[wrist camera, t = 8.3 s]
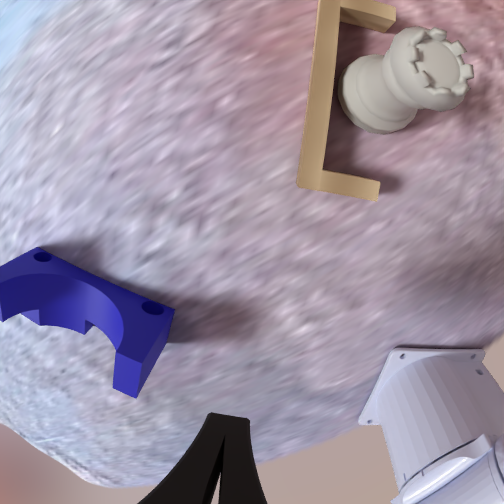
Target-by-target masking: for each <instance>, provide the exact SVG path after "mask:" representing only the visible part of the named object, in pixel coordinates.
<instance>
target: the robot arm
mask: <svg viewBox="0 0 504 504" xmlns="http://www.w3.org/2000/svg"><path fill="white" fill-rule="evenodd" d="M404 353H405V354H404ZM402 354H404V355H403V356H401V355H402ZM484 357H485V351H484V350H483V349H417V348H395V349H393V350H392V351H391V352H390V354H389V356H388V358H387V361H386V363H385V365H384V367H383V370H382V372H381V374H380V376H379V378H378V381H377V383H376V385H375V387H374V389H373V391H372V393H371V395H370V397H369V399H368V401H367V403H366V405H365V407H364V409H363V411H362V413H361V415H360V417H359V419H358V422H359V424H360V425H381V426H382V429H383V433H384V436H385V440H386V443H387V447H388V451H389V455H390V458H391V462H392V466H393V470H394V474H395V478H396V482H397V486H398V491H399V495H398V496H397V497H395V498H394V499H392V500H391V504H504V393H503V391H502V389H501V388H500V387H499V385H498V384H497V382H496V381H495V380H494V378H493V377H492V375H491V374H490V373H489V371H488V370H487V369H486V367H485V366H484V365H483V363H482V360H483V359H484ZM220 472H221V476H220ZM219 476H220V490H219V503H218V504H267V501H266V499H265V496H264V493H263V490H262V487H261V484H260V481H259V477H258V473H257V469H256V465H255V461H254V457H253V452H252V445H251V438H250V420H249V419H247V418H242V417H235V416H229V415H223V414H217V413H212V412H211V413H209V414H208V415H207V418H206V420H205V422H204V424H203V426H202V428H201V429H200V431H199V433H198V435H197V436H196V438H195V439H194V441H193V442H192V444H191V445H190V447H189V448H188V450H187V451H186V452H185V454H184V455H183V456H182V458H181V459H180V460H179V462H178V463H177V464H176V465H175V466H174V468H173V469H172V470H171V471H170V472H169V474H168V475H167V476H166V477H165V478H164V479H163V480H162V481H161V482H160V483H159V484H158V485H157V486H156V487H155V488H154V489H153V490H152V491H151V492H150V493H149V494H148V495H147V496H146V497H145V498H144V499H142V500H141V501H140V502H139V503H138V504H211V502H212V498H213V495H214V492H215V489H216V485H217V482H218V479H219Z"/></svg>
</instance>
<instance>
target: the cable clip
mask: <svg viewBox="0 0 504 504" xmlns="http://www.w3.org/2000/svg"><path fill="white" fill-rule="evenodd" d="M174 311H175V309H172V308H170V307H167V306H165V305H162V304H160V303H157V302H155V301H153V300H150V299H148V298H145V297H143V296H141V295H138V294H136V293H134V292H131V291H129V290H127V289H124V288H122V287H120V286H118V285H115V284H113V283H111V282H109V281H106V280H104V279H102V278H100V277H98V276H95V275H93V274H91V273H89V272H87V271H85V270H83V269H81V268H78V267H76V266H74V265H72V264H70V263H68V262H66V261H64V260H62V259H60V258H58V257H56V256H54V255H52V254H50V253H48V252H46V251H44V250H42V249H40V248H38V247H36V248H34V249H32V250H30V251H28V252H26V253H24V254H22V255H21V256H19V257H17V258H15V259H13V260H11V261H9V262H8V263H6V264H4V265H2V266H0V321H2V322H4V321H5V320H7V319H8V318H10V317H12V316H14V315H17V314H19V313H21V314H22V315H24V316H25V317H27V318H28V319H30V320H31V321H33V322H35V323H36V324H38V325H39V326H44V325H48V326H59V327H64V328H68V329H71V330H74V331H77V332H79V333H82V334H84V335H85V334H86V333H87V332H88V331H89V330H90V329H91V327H92V326H93V324H94V325H95V326H97V327H98V328H99V329H100V330H102V331H103V332H104V333H105V334H106V335H107V337H108V338H109V339H110V340H111V342H112V344H113V345H114V347H115V349H116V355H115V366H114V377H113V388H114V389H116V390H118V391H120V392H122V393H125V394H127V395H129V396H131V397H134V398H137V396H138V394H139V393H140V391H141V389H142V387H143V385H144V383H145V381H146V380H147V378H148V376H149V374H150V372H151V370H152V368H153V367H154V365H155V363H156V361H157V359H158V357H159V356H160V354H161V352H162V350H163V348H164V346H165V345H166V342H167V338H168V334H169V330H170V327H171V323H172V319H173V315H174Z"/></svg>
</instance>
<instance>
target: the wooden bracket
mask: <svg viewBox="0 0 504 504" xmlns="http://www.w3.org/2000/svg"><path fill="white" fill-rule="evenodd" d="M395 21H396V7H393V6H390V5H387V4H384V3H380V2H377V1H373V0H319V2H318V8H317V18H316V28H315V38H314V48H313V57H312V66H311V74H310V83H309V91H308V99H307V107H306V115H305V123H304V130H303V138H302V145H301V152H300V159H299V166H298V173H297V180H296V184H297V186H298V187H299V188H305V189H311V190H317V191H323V192H329V193H334V194H340V195H345V196H351V197H356V198H361V199H366V200H371V201H376V202H377V199H378V193H379V188H380V182H379V181H376V180H373V179H370V178H366V177H361V176H356V175H351V174H346V173H341V172H335V171H330V170H324V169H322V168H323V161H324V155H325V148H326V141H327V133H328V126H329V118H330V110H331V102H332V93H333V84H334V75H335V65H336V55H337V44H338V32H339V22H343V23H348V24H352V25H356V26H360V27H364V28H368V29H372V30H375V31H379V32H382V33H385V32H386V31H387V30H388V29H389V28H390V27H391V26H392V25H393V24H394V23H395Z"/></svg>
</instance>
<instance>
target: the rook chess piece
mask: <svg viewBox="0 0 504 504" xmlns="http://www.w3.org/2000/svg"><path fill="white" fill-rule="evenodd" d="M446 33H447V31H444V30H441V29H439V28H436V27H434V28H432V29H431V30H430V29H427V28H424V27H420V26H418V27H409V28H405V29H403V30H402V31H401V32H399V33H398V34H396V35H395V37H394V39H393V42H392V44H391V46H390V49H389V50H388V51H387V52H386V54H385V56H384V55H378V54H372V55H367V56H363V57H359V58H358V59H356V60H355V61H353V62H352V63H351V64H350V65H348V66H347V67H346V68H345V69H344V70H343V72H342V74H341V76H340V78H339V80H338V99H339V101H340V104H341V106H342V109H343V111H344V113H345V114H346V115H347V116H348V117H349V119H350V120H351V121H352V122H353V123H354V124H355V125H356V126H358V127H360V128H362V129H364V130H365V131H367V132H369V133H377V134H388V133H391V132H395V131H398V130H400V129H403V128H404V127H405V126H406V125H408V124H409V123H410V122H411V121H412V120H413V119H414V118H415V115H416V113H417V110H418V109H421V110H422V109H426V108H427V109H432V110H436V111H440V112H442V111H446V110H451V109H454V108H455V107H456V106H457V105H459V104H460V103H461V102H462V101H463V100H464V97H465V94H466V93H467V92H468V91H469V90H470V89H471V88H470V87H469V86H468V83H467V80H468V79H472V78H474V72H473V65H470V64H465V63H464V61H463V59H462V56H461V54H463V53H465V52H467V51H466V49H465V48H464V47H463V45H462V44H461V43H460V42H459V40H457V41H455V42H453V43H451V42H450V41H448V40H447V39H446Z"/></svg>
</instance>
